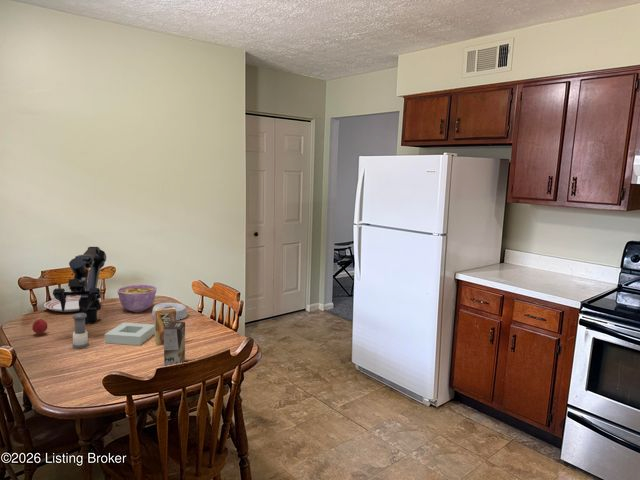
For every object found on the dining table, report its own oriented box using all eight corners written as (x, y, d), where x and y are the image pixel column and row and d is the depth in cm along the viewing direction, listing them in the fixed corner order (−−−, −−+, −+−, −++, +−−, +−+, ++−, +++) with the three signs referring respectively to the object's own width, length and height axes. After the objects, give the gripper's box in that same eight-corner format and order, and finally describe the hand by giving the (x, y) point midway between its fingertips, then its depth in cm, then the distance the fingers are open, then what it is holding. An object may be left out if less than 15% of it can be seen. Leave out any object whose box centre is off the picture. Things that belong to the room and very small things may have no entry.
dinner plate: (50, 302, 250) (49, 296, 250) (103, 299, 260) (103, 293, 259) (38, 317, 225) (38, 310, 224) (98, 313, 235) (98, 307, 234)
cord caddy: (123, 330, 211) (123, 322, 210) (155, 332, 210) (155, 324, 209) (104, 342, 195) (104, 334, 194) (139, 345, 194) (139, 336, 193)
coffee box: (180, 368, 173) (180, 329, 171) (163, 368, 173) (163, 328, 170) (185, 358, 182) (185, 321, 180) (169, 358, 182) (169, 321, 179)
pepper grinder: (78, 342, 194) (77, 312, 192) (91, 343, 193) (90, 313, 191) (69, 348, 188) (68, 316, 186) (83, 349, 187) (82, 317, 185)
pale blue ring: (153, 312, 240) (153, 302, 239) (187, 311, 245) (187, 300, 244) (150, 323, 223) (150, 311, 222) (186, 321, 228) (186, 310, 227)
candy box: (175, 339, 203) (174, 307, 201) (176, 342, 199) (176, 309, 197) (154, 341, 199) (154, 308, 197) (155, 344, 195) (155, 311, 193)
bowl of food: (123, 304, 251) (122, 284, 249) (159, 304, 254) (159, 284, 253) (113, 315, 231) (112, 294, 230) (153, 315, 235) (153, 294, 233)
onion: (40, 337, 198) (39, 320, 197) (29, 336, 199) (28, 319, 198) (50, 333, 203) (50, 316, 202) (40, 331, 204) (39, 315, 203)
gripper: (52, 271, 194) (45, 303, 186) (98, 270, 199) (93, 301, 190) (59, 283, 203) (52, 314, 195) (103, 282, 208) (98, 313, 199)
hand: (74, 310), depth 195 cm, fingers open, 9 cm apart
